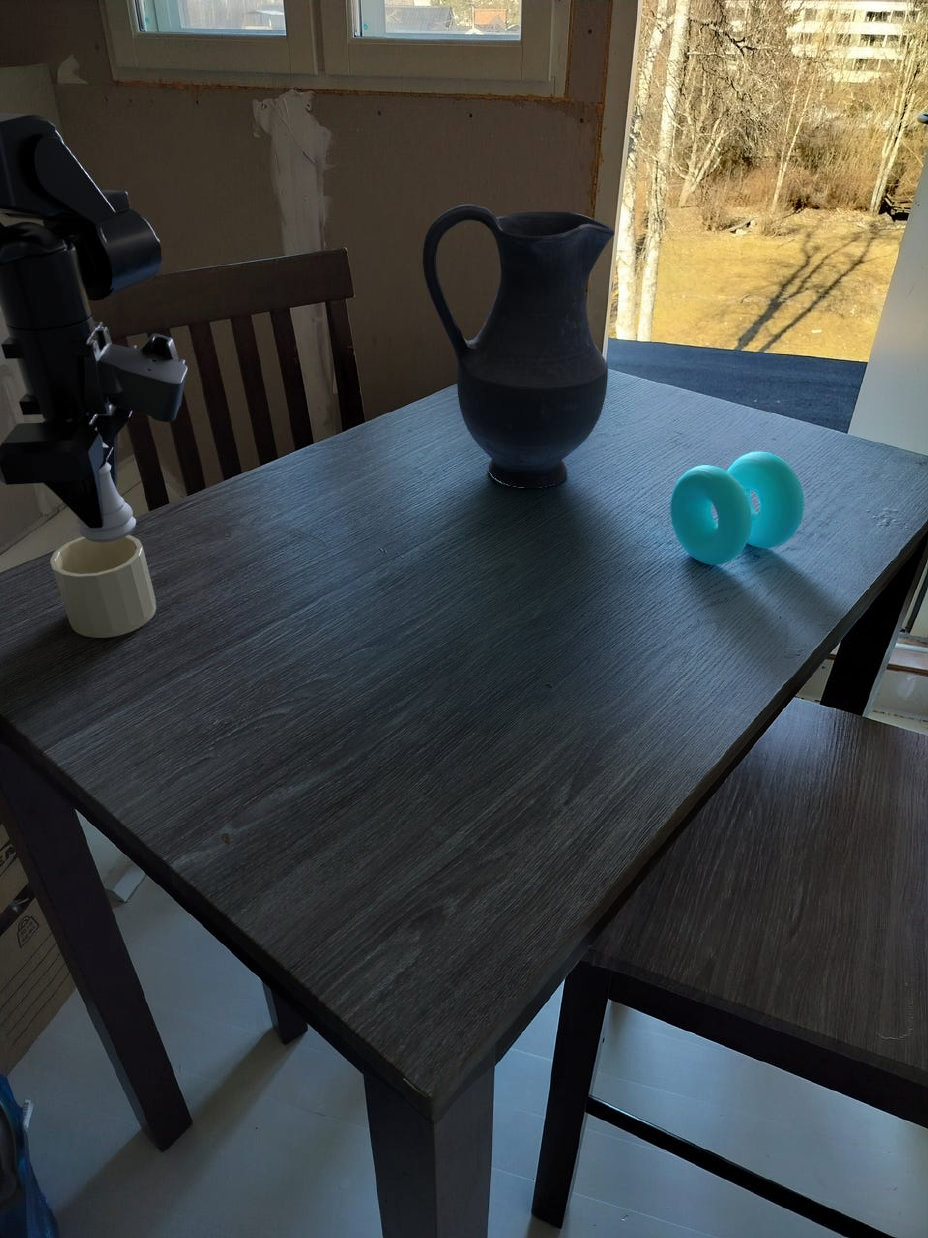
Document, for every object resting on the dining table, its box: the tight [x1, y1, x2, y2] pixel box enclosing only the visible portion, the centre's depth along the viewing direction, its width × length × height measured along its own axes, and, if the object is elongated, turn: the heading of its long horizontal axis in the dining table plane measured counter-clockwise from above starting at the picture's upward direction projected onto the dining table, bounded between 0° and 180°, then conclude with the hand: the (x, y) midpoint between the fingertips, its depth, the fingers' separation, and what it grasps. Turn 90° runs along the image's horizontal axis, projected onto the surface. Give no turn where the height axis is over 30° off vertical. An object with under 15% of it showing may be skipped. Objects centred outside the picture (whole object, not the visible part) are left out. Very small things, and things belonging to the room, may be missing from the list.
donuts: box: [669, 451, 805, 566], centre depth 86 cm, size 10×10×10 cm
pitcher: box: [422, 204, 615, 489], centre depth 95 cm, size 17×21×30 cm
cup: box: [49, 534, 157, 639], centre depth 77 cm, size 8×8×6 cm
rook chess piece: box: [76, 436, 137, 543], centre depth 68 cm, size 4×4×8 cm
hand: (103, 513), depth 69 cm, fingers closed on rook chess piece, 4 cm apart
